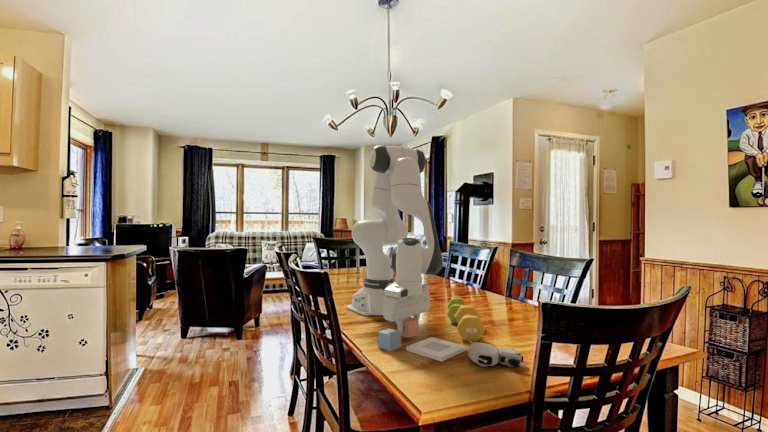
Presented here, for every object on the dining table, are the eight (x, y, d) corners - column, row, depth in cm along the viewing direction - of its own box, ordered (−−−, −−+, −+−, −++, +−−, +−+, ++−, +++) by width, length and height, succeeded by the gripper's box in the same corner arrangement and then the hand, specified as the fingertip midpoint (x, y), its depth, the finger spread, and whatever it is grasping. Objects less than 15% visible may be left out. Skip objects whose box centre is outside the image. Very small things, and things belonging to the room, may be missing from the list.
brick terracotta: (396, 334, 130) (397, 319, 130) (406, 330, 134) (407, 316, 134) (408, 337, 127) (408, 322, 126) (418, 334, 130) (418, 319, 130)
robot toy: (518, 360, 115) (466, 353, 117) (519, 345, 115) (467, 338, 117) (526, 378, 103) (468, 369, 105) (528, 361, 103) (470, 353, 105)
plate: (406, 350, 120) (406, 346, 120) (431, 340, 129) (431, 336, 129) (441, 361, 111) (441, 357, 111) (466, 350, 120) (466, 346, 120)
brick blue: (378, 347, 122) (378, 331, 122) (389, 343, 126) (389, 328, 126) (390, 351, 119) (390, 335, 119) (400, 347, 122) (401, 331, 122)
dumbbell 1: (447, 313, 165) (447, 296, 165) (466, 314, 164) (466, 297, 164) (446, 324, 149) (446, 305, 149) (468, 325, 148) (468, 306, 148)
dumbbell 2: (485, 343, 127) (485, 318, 127) (456, 341, 129) (457, 317, 129) (479, 326, 146) (479, 305, 146) (454, 325, 147) (455, 303, 147)
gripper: (420, 282, 139) (419, 320, 140) (380, 290, 125) (379, 333, 125) (435, 285, 135) (434, 324, 135) (395, 293, 120) (394, 338, 121)
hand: (407, 329), depth 130 cm, fingers closed on brick terracotta, 5 cm apart
